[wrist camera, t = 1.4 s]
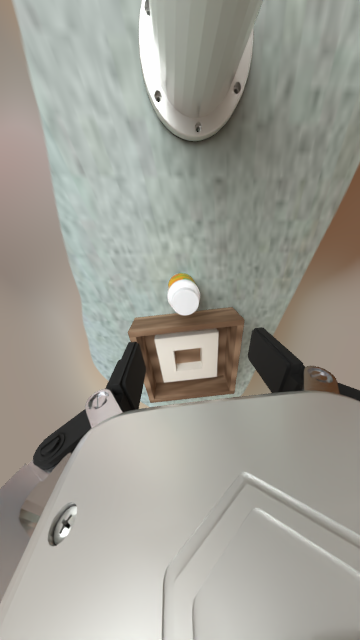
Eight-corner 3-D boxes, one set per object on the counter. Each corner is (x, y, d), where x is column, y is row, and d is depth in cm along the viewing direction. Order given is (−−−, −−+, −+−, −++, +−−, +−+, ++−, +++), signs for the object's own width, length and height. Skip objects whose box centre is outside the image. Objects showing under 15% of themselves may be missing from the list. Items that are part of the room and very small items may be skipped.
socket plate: (155, 333, 33) (154, 339, 30) (215, 326, 33) (218, 332, 30) (164, 374, 39) (163, 382, 37) (214, 369, 39) (216, 376, 37)
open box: (135, 317, 32) (127, 332, 26) (232, 307, 32) (244, 319, 26) (153, 382, 42) (150, 402, 37) (226, 374, 42) (234, 393, 37)
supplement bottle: (195, 272, 28) (205, 284, 19) (193, 298, 30) (202, 319, 22) (167, 272, 27) (166, 284, 19) (168, 298, 30) (167, 320, 21)
